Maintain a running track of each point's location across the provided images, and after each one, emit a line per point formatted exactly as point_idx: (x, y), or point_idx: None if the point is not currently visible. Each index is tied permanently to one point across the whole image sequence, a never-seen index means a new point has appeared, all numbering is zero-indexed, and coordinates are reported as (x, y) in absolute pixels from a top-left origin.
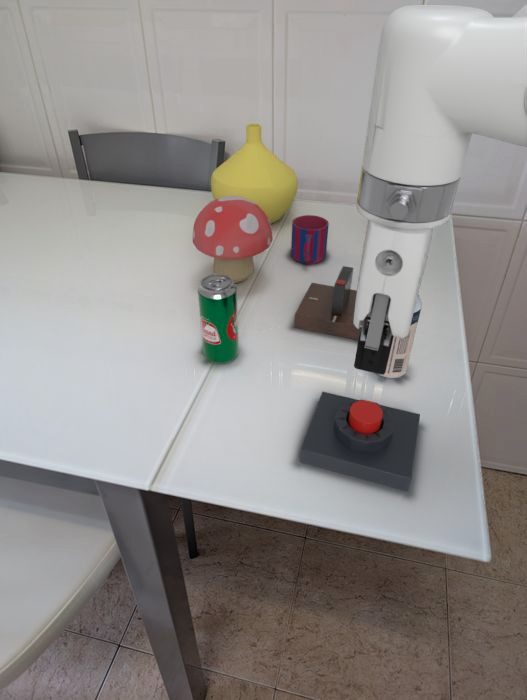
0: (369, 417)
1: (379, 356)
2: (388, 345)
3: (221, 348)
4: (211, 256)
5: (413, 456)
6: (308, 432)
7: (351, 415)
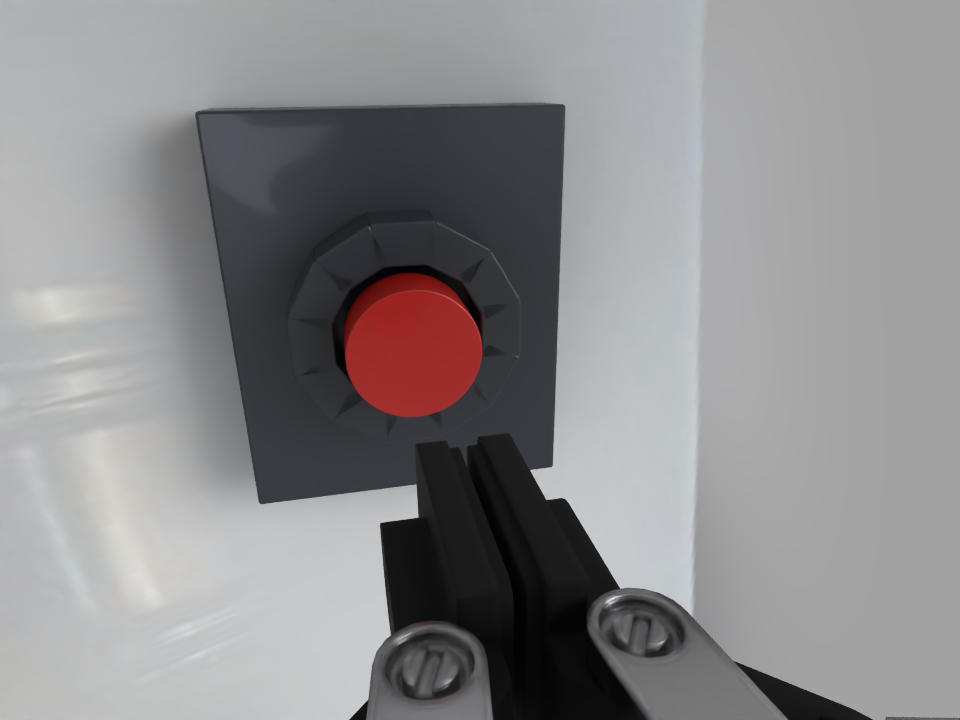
0: (445, 336)
1: (601, 562)
2: (681, 609)
3: None
4: None
5: (458, 110)
6: None
7: (455, 400)
